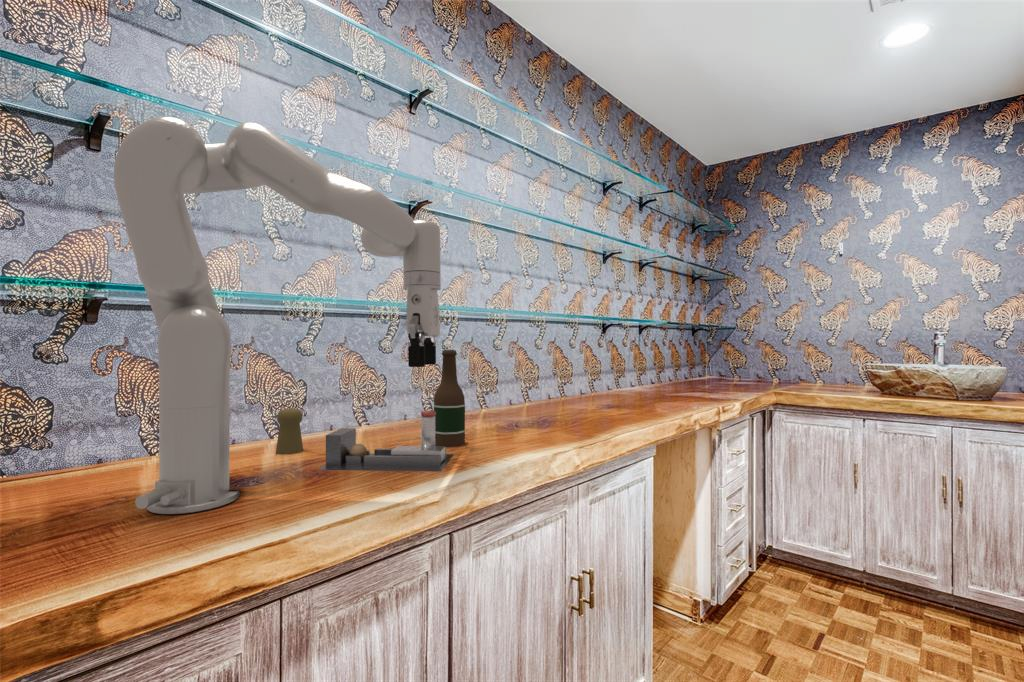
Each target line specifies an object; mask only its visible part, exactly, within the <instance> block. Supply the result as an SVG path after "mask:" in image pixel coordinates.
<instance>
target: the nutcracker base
mask: <svg viewBox="0 0 1024 682" xmlns="http://www.w3.org/2000/svg"><path fill="white" fill-rule="evenodd" d="M355 444H357V427H356V428H355V427H350V428H349V427H342V428H339V429H337V430H335V431H332V432H330V433H328V434H326V435H325V464H324V465H322V466H320V467H319V468H316V471H361V472H362V471H369V472H371V471H372V472H373V471H374V472H376V471H377V472H380V471H381V472H433V473H434V472H437V473H438V472H439V473H440V472H442V471H443V469H445V467H446V465H447V464H448V463H449V462H450V460H451V459H452V458H453V456H454V454H452V453H450V454H449V453H447V449H446V448H445V459H444V460H443V461H442V463H440V456H391V450H393V449H394V448H375V449H374V450H373V451H374V452H373V453H371V450H368V449H367V455H366V456H364V459H363V460H362V456H360V455H349V451H350V448H351V447H352V446H353V445H355Z"/></svg>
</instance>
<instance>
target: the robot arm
mask: <svg viewBox="0 0 1024 682" xmlns="http://www.w3.org/2000/svg"><path fill="white" fill-rule="evenodd" d="M113 183H114V189H115V190H114V191H115V195H116V198H117V202H118V206H119V210H120V212H121V216H122V220H123V222H124V227H125V230H126V233H127V236H128V240H129V242H130V245H131V248H132V251H133V254H134V259H135V261H136V262H135V263H136V268H137V269H136V270H137V275H138V277H139V280H140V281H141V283H142V285H143V287H144V291H145V292H146V295H147V298H148V302H149V305H150V307H151V310H152V313H153V316H154V319H155V322H156V325H157V327H158V339H157V353H158V354H157V355H158V356H157V357H158V408H159V411H158V415H159V417H158V422H159V423H158V427H159V428H158V430H159V431H158V432H159V433H158V437H159V438H158V443H159V444H158V480H156V481H155V482H154V488H153V489H152V491H150V492H147V493H144V494H141V495H139V496H138V497H136V499H135V501H134V503H135V504H134V505H135V506H136V508H137V509H139V510H144V509H146V510H147V511H148V512H149V513H153V514H159V515H181V514H188V513H189V514H190V513H196V512H202V511H208V510H211V509H215V508H219V507H222V506H226V505H227V504H230V503H232V502H234V501H236V500H237V499H238V498H240V495H241V489H230V442H231V441H230V433H231V432H230V430H231V429H230V427H231V426H230V420H231V419H230V416H231V415H230V413H231V412H230V410H231V409H230V407H231V406H230V405H231V404H230V378H231V377H230V376H231V375H230V373H231V371H230V370H231V356H232V355H231V353H232V333H231V330H230V329H231V328H230V326H229V324H228V322H227V320H226V319H225V318H224V317H223V315H222V314H220V311H219V308H218V305H217V304H218V303H217V302H216V301H217V300H216V298H215V295H214V292H213V289H212V285H211V282H210V278H209V268H208V264H207V262H206V260H205V257H204V255H203V253H202V251H201V248H200V246H199V244H198V243H199V242H198V240H197V237H196V235H195V231H194V229H193V225H192V222H191V218H190V214H189V210H188V207H187V204H186V200H185V195H190V194H191V195H193V194H195V195H196V194H209V193H219V192H230V191H231V192H232V191H239V190H240V191H242V190H249V189H254V188H255V189H256V188H259V187H263V186H265V187H267V188H269V189H270V190H272V191H273V192H275V193H277V194H278V195H280V196H282V197H283V198H285V199H286V200H289V201H290V203H292V204H294V205H296V206H298V207H299V208H301V209H302V210H304V211H306V212H308V213H313V214H319V215H327V216H328V215H329V216H335V217H338V218H342V219H344V220H347V221H349V222H351V223H353V224H355V225H357V226H359V227H361V228H362V231H361V233H360V235H361V236H360V241H361V244H362V246H363V247H364V249H365V250H366V251H367V252H368V253H369V254H370V255H373V256H376V257H380V258H382V257H383V258H384V257H385V258H387V257H388V258H389V257H403V259H402V261H403V263H402V265H403V269H402V270H403V290H404V291H407V293H406V294H407V295H406V333H407V335H408V336H407V337H408V340H407V341H408V342H407V345H408V346H407V347H408V348H407V349H408V350H407V351H408V352H407V355H408V357H407V359H408V364H407V365H408V367H409V368H423V367H425V366H427V365H436V364H437V347H436V342H437V341H436V338H438V337H440V335H441V324H440V323H441V321H440V306H439V296H438V291H441V289H442V288H441V286H442V285H441V283H442V282H441V281H442V280H441V278H442V277H441V229H440V227H439V225H438V224H437V223H436V222H434V221H432V220H428V219H427V220H423V219H415V220H413V218H412V217H411V215H410V214H409V213H408V212H407V211H406V210H405V209H404V208H402V206H400V205H398V204H397V203H395V202H394V201H393V200H391V199H389V198H388V196H386V195H384V194H383V193H381V192H379V191H378V190H376V189H374V188H373V187H370V186H369V185H368V184H367V185H366V184H364V183H362V182H359V181H357V180H354V179H352V178H348V177H346V176H343V175H342V174H337V173H335V172H333V171H331V170H330V169H329V168H326V167H324V165H322V164H320V163H319V162H317V161H316V160H315V159H313V158H312V157H310V156H308V155H307V154H306V153H304V152H303V151H301V150H300V149H299V148H297V147H296V146H294V145H293V144H291V143H290V142H289V141H288V140H287V141H286V140H285V139H284V138H283V137H281V136H280V135H278V134H276V132H273V131H272V130H271V129H269V128H267V127H265V126H264V125H262V124H259V123H256V122H252V121H251V122H250V121H248V122H247V121H246V122H242V123H240V124H238V125H236V126H235V127H234V128H233V129H232V130H231V131H230V133H229V135H228V137H227V139H226V141H225V142H220V143H205V142H204V140H203V138H202V136H201V135H200V134H199V132H198V131H197V130H196V129H195V128H194V127H193V126H192V125H191V124H189V123H188V122H186V121H184V120H182V119H180V118H177V117H173V116H157V117H154V118H151V119H148V120H145V121H143V122H142V123H140V124H138V125H137V126H135V128H132V130H131V131H130V132H129V133H128V134H127V135H126V136H125V137H124V139H123V140H122V142H121V144H120V146H119V147H118V150H117V153H116V156H115V159H114V167H113Z"/></svg>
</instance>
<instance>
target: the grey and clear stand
mask: <svg viewBox="0 0 1024 682" xmlns="http://www.w3.org/2000/svg"><path fill="white" fill-rule="evenodd" d="M435 415H436V411H434V410H422V411H420V416H421V417H420V418H421V419H420V420H421V422H420V425H421V428H420V429H421V431H420V434H421V436H420V437H421V439H420V441H421V443H420V444H421V445H416V446H415V445H397V446H395V447H394V448H392V449H393V450H391V456H440V463H442V461H443V460H444V459H445V449H446V447H440V446H435Z"/></svg>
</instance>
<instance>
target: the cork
mask: <svg viewBox="0 0 1024 682" xmlns="http://www.w3.org/2000/svg"><path fill="white" fill-rule="evenodd" d="M302 419H303V412H302V410H300V409H299V408H293V407H291V408H290V407H289V408H284V409H281V410H279V411H278V413H277V415H276V421H277V423H278V424H279V427H278V434H277V441H276V449H275V453H274V454H275V456H276V455H294V454H300V453H303V452H304V446H303V438H302V437H303V436H302V432H301V422H302V421H303V420H302Z"/></svg>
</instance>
